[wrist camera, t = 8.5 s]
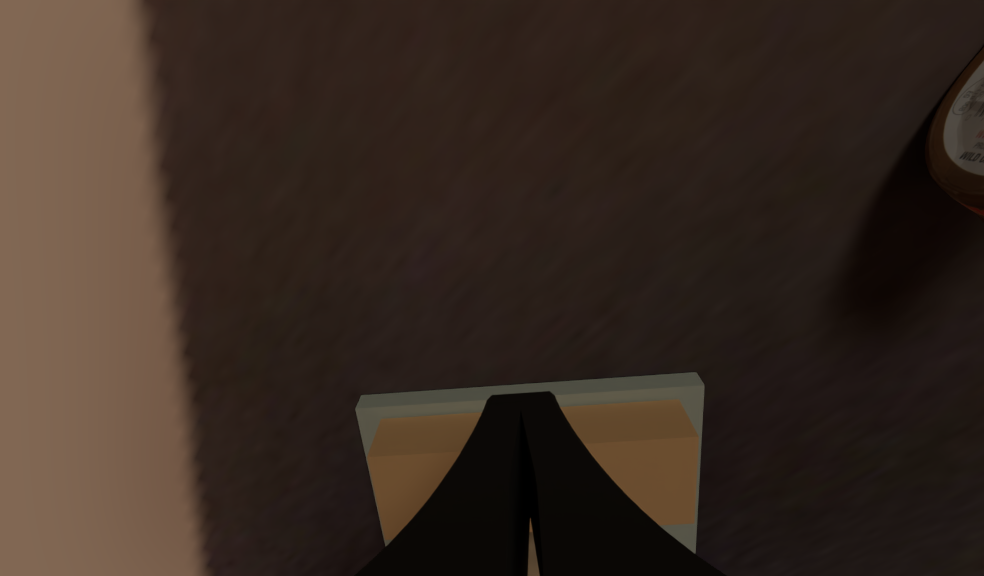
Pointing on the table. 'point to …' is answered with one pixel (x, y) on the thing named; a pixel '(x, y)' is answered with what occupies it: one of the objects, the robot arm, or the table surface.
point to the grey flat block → (566, 394)
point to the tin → (960, 139)
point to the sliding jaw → (602, 428)
